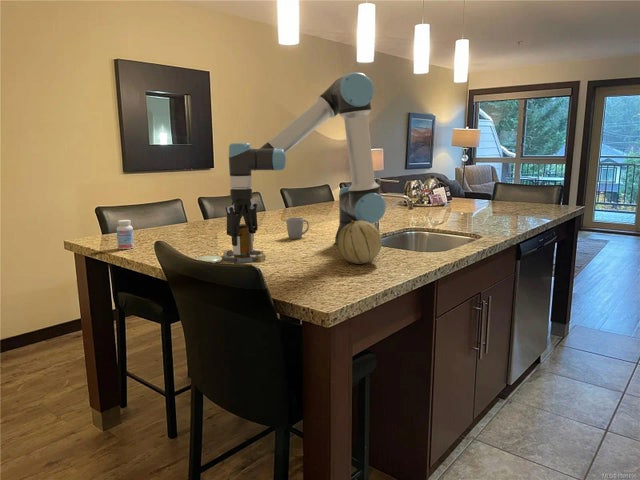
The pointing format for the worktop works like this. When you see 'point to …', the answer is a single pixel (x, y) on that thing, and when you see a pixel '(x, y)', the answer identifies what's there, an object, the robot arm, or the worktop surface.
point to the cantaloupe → (359, 242)
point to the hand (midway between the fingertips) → (243, 252)
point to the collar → (258, 257)
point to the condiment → (244, 242)
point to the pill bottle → (125, 235)
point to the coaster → (210, 258)
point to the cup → (296, 227)
